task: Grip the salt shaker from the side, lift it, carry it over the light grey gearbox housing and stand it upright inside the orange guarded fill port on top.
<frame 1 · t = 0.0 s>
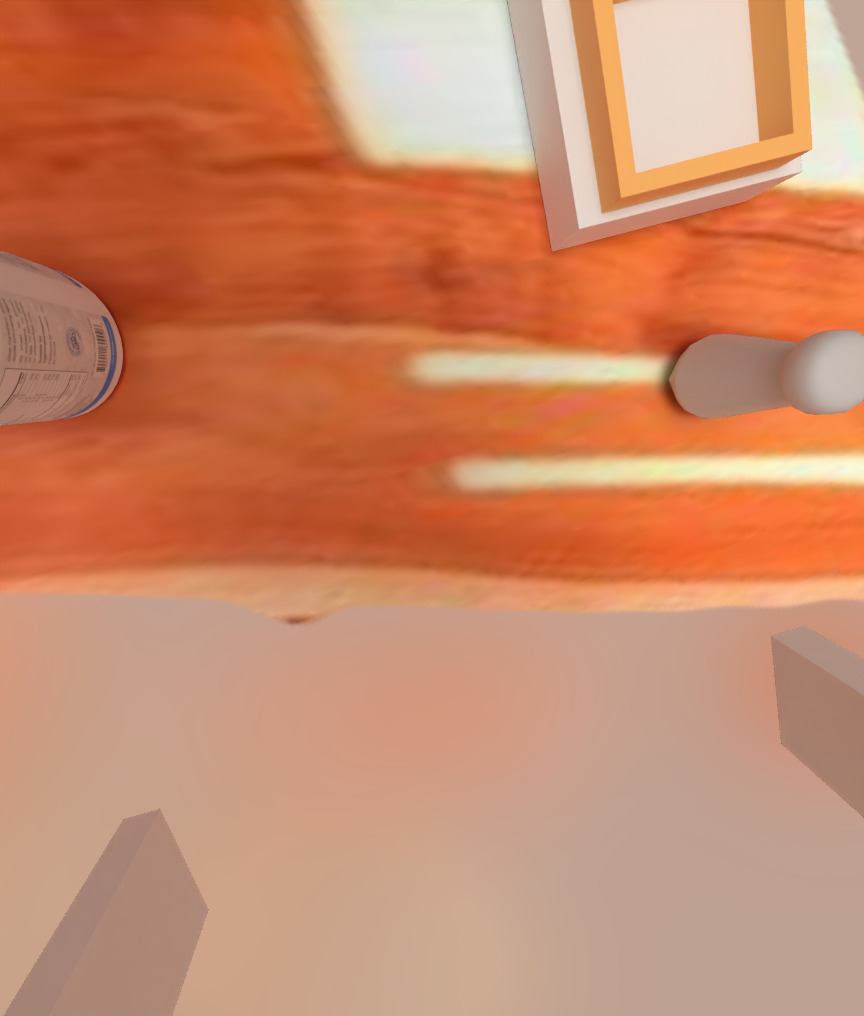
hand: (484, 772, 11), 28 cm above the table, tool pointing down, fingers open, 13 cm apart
salt shaker: (693, 378, 38), on the table
gearbox housing: (628, 77, 33), on the table
supplement tub: (56, 347, 33), on the table
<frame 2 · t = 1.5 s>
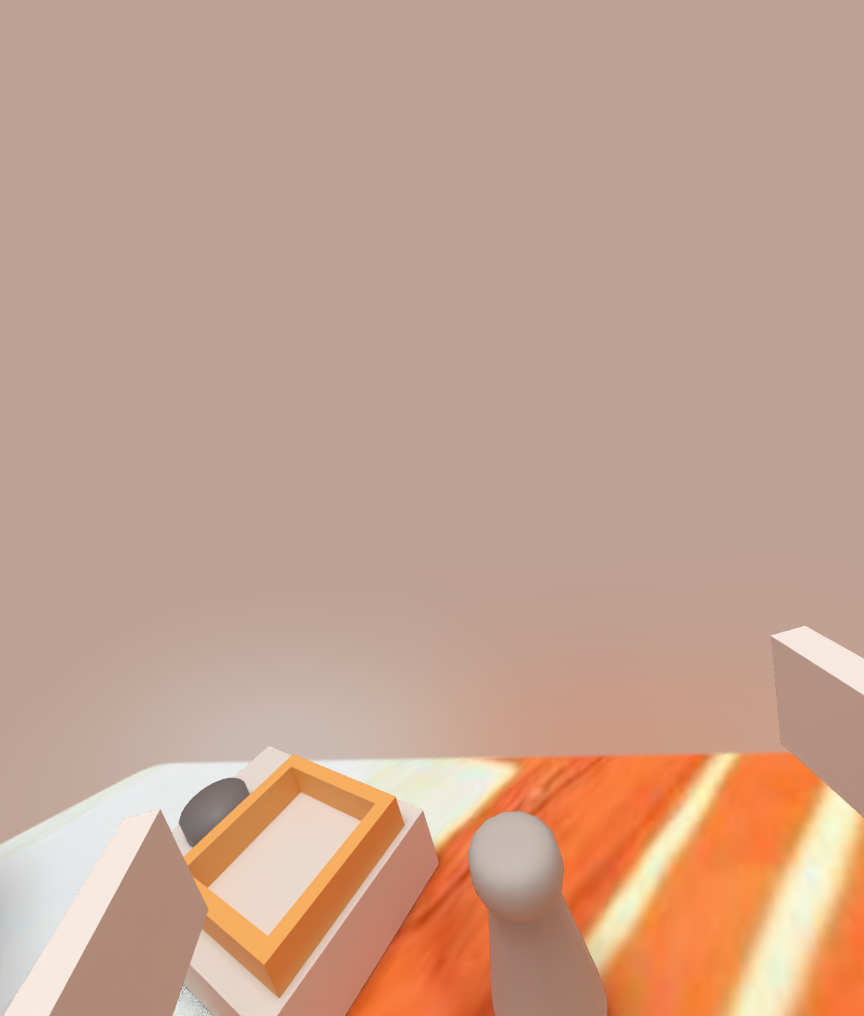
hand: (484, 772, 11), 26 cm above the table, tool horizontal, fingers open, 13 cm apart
gearbox housing: (288, 899, 37), on the table
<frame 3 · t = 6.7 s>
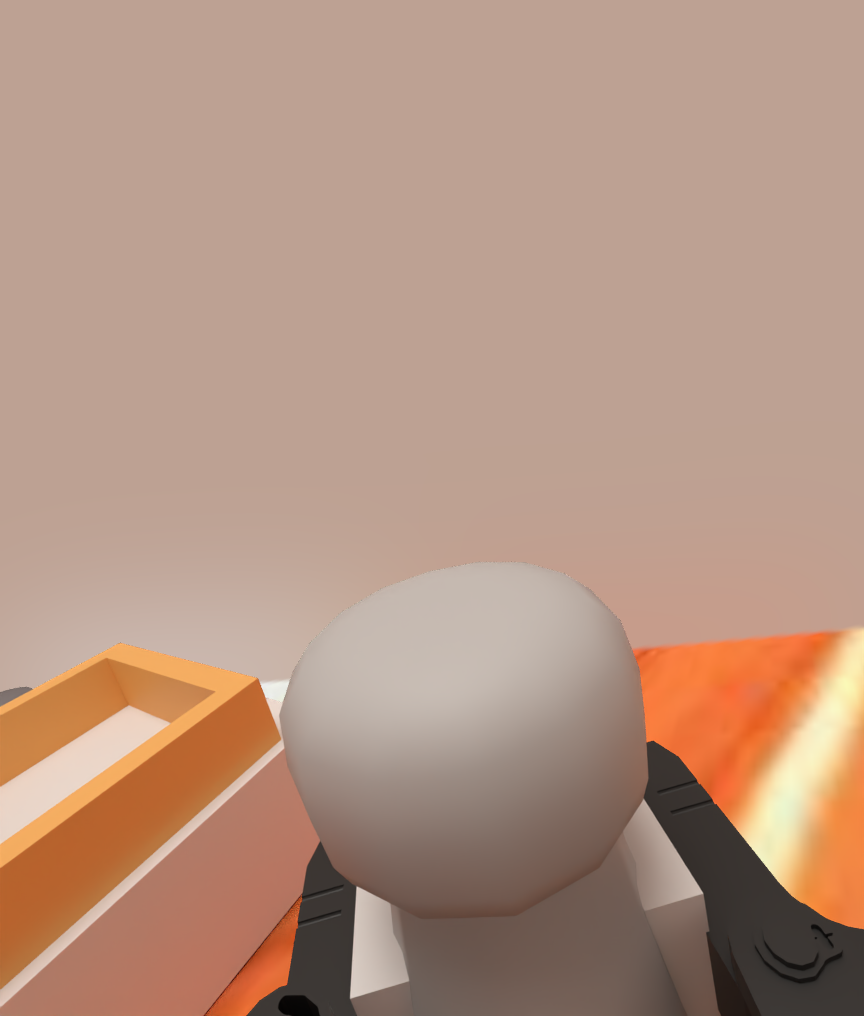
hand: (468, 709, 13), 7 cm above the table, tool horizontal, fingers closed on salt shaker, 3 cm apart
gearbox housing: (79, 893, 20), on the table
when the fingers open (14 cm above the table, at t = 11.6 s): salt shaker stays where it is, resting on gearbox housing.
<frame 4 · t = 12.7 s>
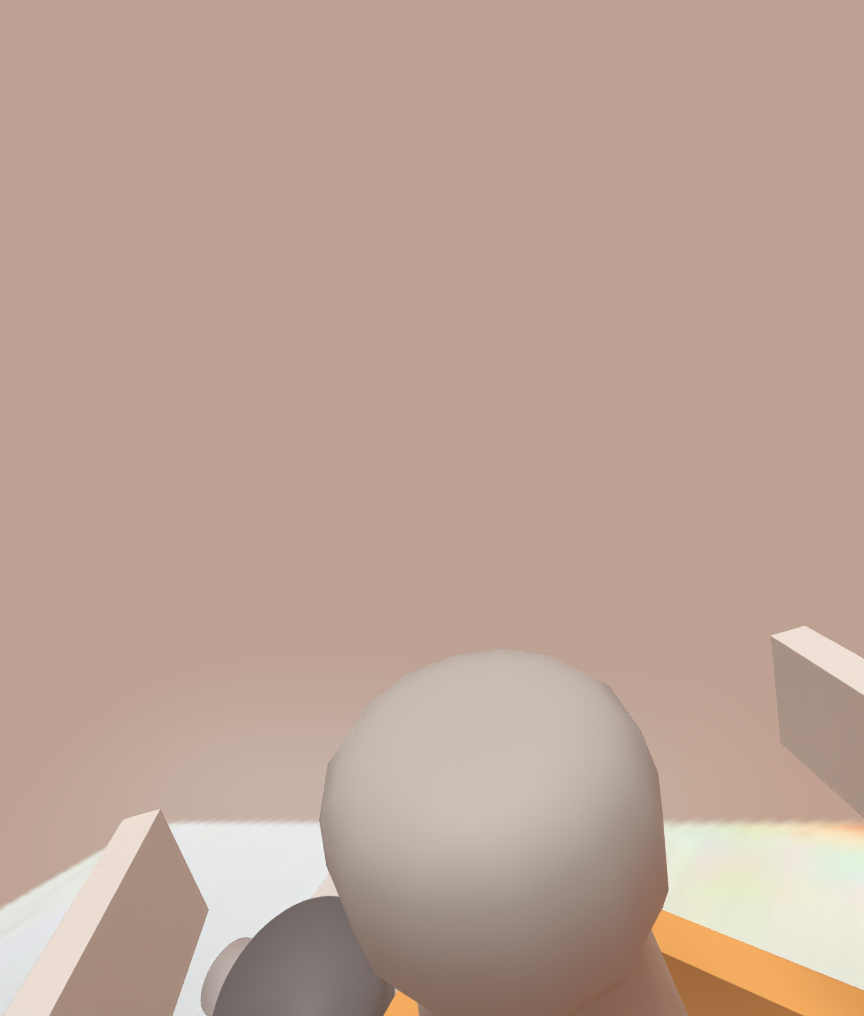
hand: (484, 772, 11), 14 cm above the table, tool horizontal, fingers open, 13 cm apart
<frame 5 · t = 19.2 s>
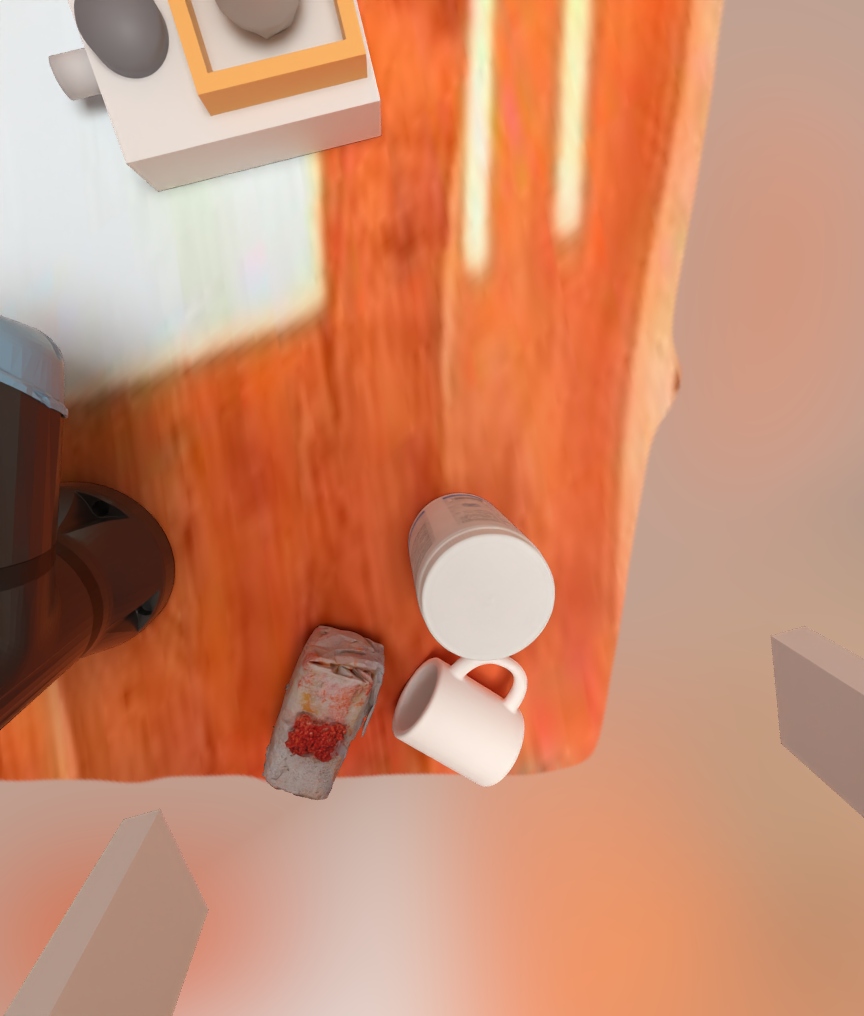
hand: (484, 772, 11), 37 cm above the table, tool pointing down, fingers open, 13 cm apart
mug: (463, 680, 52), on the table
salt shaker: (263, 4, 33), point 5 cm above the table, touching gearbox housing
food item: (330, 680, 50), on the table
gearbox housing: (240, 60, 38), on the table
supplement tub: (457, 538, 48), on the table
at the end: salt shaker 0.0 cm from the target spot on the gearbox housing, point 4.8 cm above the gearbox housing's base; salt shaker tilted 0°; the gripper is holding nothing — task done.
